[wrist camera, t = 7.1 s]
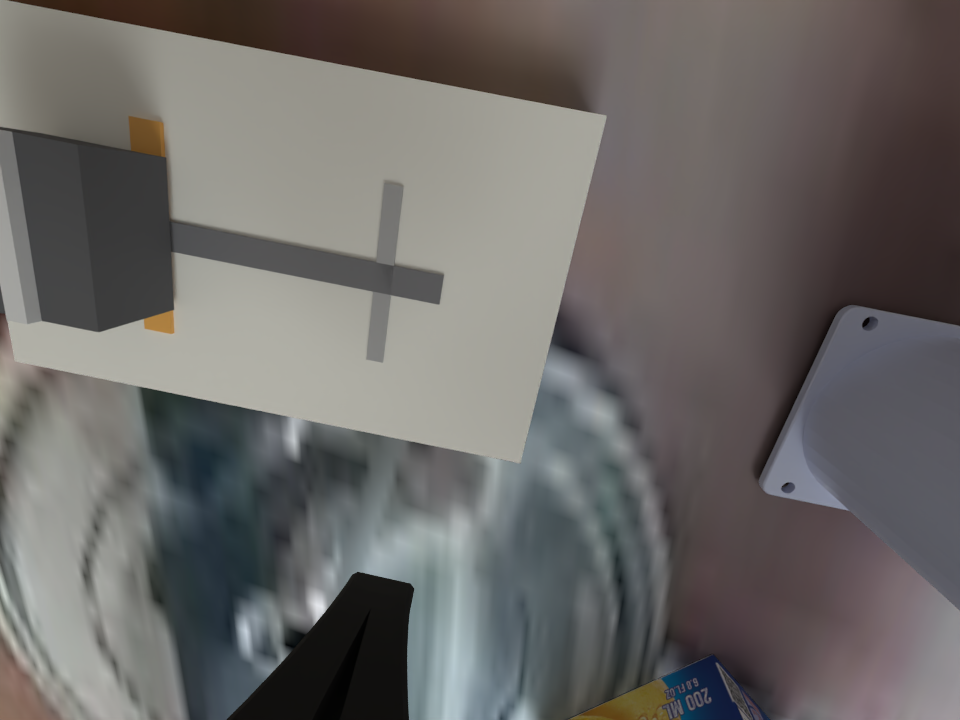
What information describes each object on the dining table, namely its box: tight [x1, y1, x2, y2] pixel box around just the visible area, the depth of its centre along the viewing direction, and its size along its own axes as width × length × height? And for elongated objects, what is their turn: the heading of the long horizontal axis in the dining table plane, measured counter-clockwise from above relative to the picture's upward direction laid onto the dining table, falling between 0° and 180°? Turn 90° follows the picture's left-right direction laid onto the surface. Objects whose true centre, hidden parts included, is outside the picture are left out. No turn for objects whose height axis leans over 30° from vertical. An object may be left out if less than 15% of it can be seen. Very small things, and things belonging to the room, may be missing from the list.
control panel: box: [0, 0, 607, 463], centre depth 16 cm, size 20×12×2 cm, turn 79°
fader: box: [0, 127, 174, 332], centre depth 13 cm, size 4×5×3 cm
